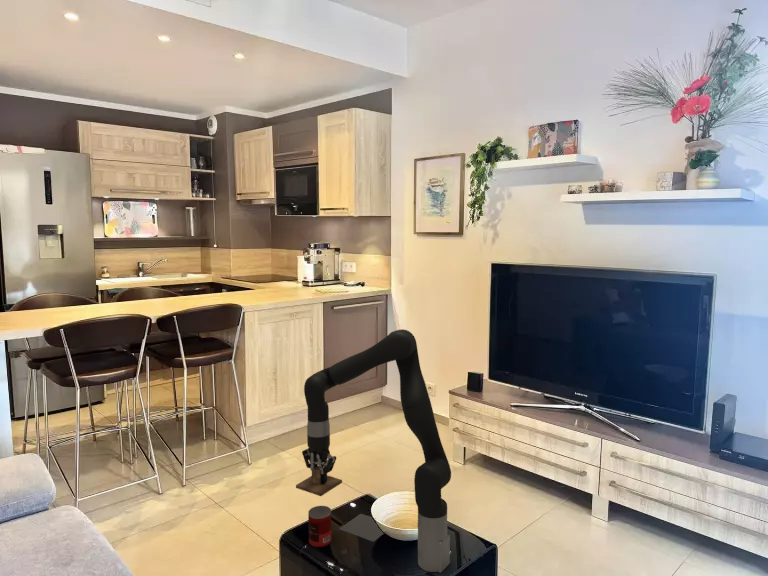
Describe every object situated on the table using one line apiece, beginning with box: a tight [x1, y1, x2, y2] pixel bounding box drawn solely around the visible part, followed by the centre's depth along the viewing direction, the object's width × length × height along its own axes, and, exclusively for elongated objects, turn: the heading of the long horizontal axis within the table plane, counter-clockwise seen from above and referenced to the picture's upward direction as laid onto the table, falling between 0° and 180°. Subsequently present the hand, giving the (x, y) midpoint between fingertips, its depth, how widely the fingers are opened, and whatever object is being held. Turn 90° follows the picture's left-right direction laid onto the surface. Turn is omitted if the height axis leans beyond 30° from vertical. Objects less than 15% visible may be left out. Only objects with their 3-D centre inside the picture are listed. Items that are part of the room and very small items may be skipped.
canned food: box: [307, 505, 333, 548], centre depth 182 cm, size 8×8×11 cm
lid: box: [295, 465, 343, 497], centre depth 180 cm, size 11×11×6 cm
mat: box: [339, 513, 385, 543], centre depth 191 cm, size 15×13×1 cm
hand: (319, 481), depth 181 cm, fingers closed on lid, 3 cm apart
